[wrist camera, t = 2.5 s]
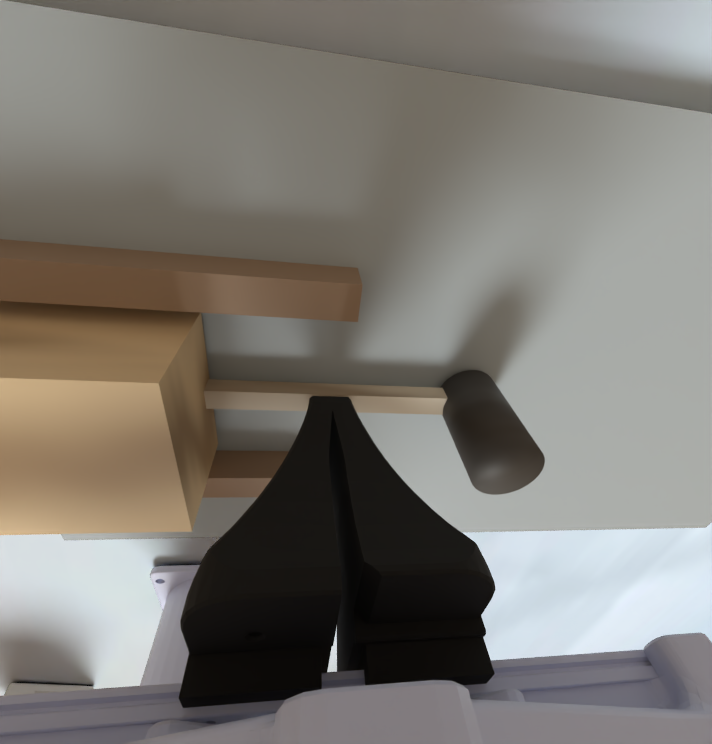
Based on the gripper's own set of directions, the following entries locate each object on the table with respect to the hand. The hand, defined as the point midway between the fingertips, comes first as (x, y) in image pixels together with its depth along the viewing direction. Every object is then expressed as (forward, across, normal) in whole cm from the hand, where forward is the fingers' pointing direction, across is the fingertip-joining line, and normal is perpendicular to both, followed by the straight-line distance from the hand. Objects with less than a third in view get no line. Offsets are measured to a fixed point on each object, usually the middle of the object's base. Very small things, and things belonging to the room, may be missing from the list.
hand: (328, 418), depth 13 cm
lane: (+3, -6, 0) cm, 7 cm away
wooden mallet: (+2, +2, 0) cm, 2 cm away
